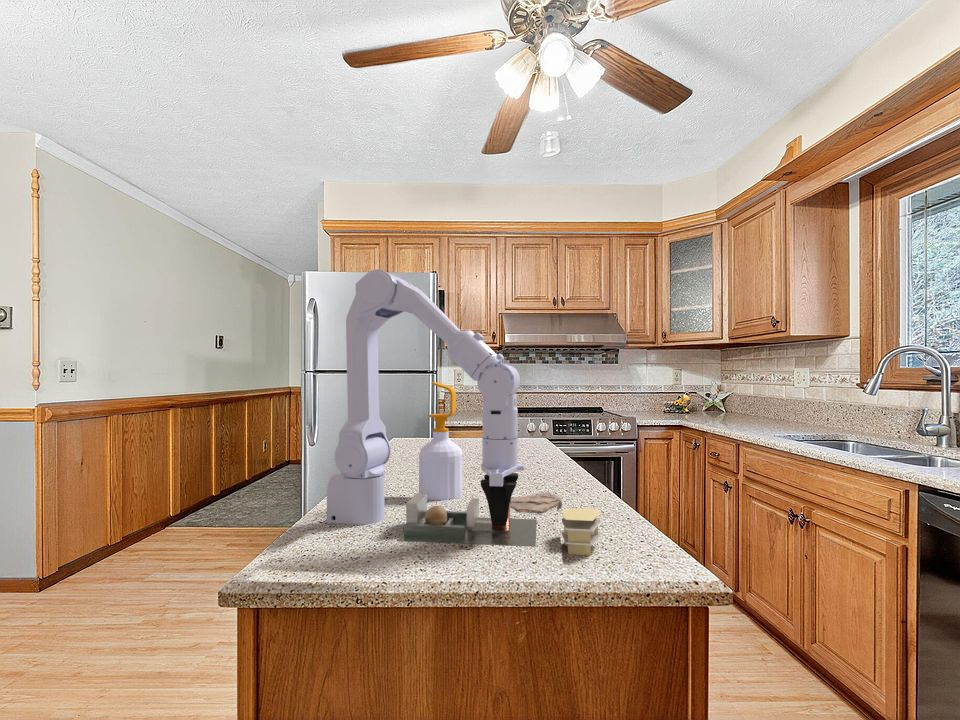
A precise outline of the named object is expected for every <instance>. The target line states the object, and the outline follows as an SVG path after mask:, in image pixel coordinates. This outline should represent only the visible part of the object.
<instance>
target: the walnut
mask: <svg viewBox="0 0 960 720" xmlns="http://www.w3.org/2000/svg"><path fill="white" fill-rule="evenodd" d="M446 511H447V510H446V509H445V508H443V506H440V505H433V506H430V507H429V508H427V512H426V514H425V520H426V523H427V524H431V525H444V524H445V523H446V521H447V513H446Z"/></svg>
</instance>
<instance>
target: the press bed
mask: <svg viewBox="0 0 960 720" xmlns="http://www.w3.org/2000/svg"><path fill="white" fill-rule="evenodd" d="M427 510H428V499H427V493H419V492H416V493H415V494H414V495H413V496H412V497H411V498H410V499H409V500H408V501H407V502H406V503H405V511H406V512H405V513H406V514H405V518H406V519H405V521H406V523H405V524H404V525H403V532H402V533H401V535H400V536H399V538H397V539H396V542H404V543H405V542H407V543H408V542H410V543H431V544H432V543H433V544H434V543H436V544H437V543H439V544H459V545H460V544H462V545H463V544H464V545H484V546H485V545H487V546H508V547H509V546H512V547H516V546H517V547H535V548H536V547H537V542H536V541H537V525H538V524H537V521H538V520H537V518H536V519H535V518H533V519H532V518H511V517H510V530H508V531H494V530H492V529H468V527H467V511H453V510H451V511H450V510H449V511H448V510H445V511H446V513H447V521H446V523H445V524H444V525H431V524H427V523H426V520H425V514H426V512H427ZM478 520H479V521H491V517H480V516H479V517H478Z"/></svg>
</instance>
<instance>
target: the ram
mask: <svg viewBox="0 0 960 720" xmlns="http://www.w3.org/2000/svg"><path fill="white" fill-rule="evenodd" d="M466 512H467V527H468V529H492V530H494V531H508V530H510V518H511V508H510V504H509V511H508V517H507V522H506V525H505V526H493V525H492V521H479V520H478V517H480V498H478V497H477V498H474V497H473V498H471V499H470V501H469V502H468V504H467V507H466Z"/></svg>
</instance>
